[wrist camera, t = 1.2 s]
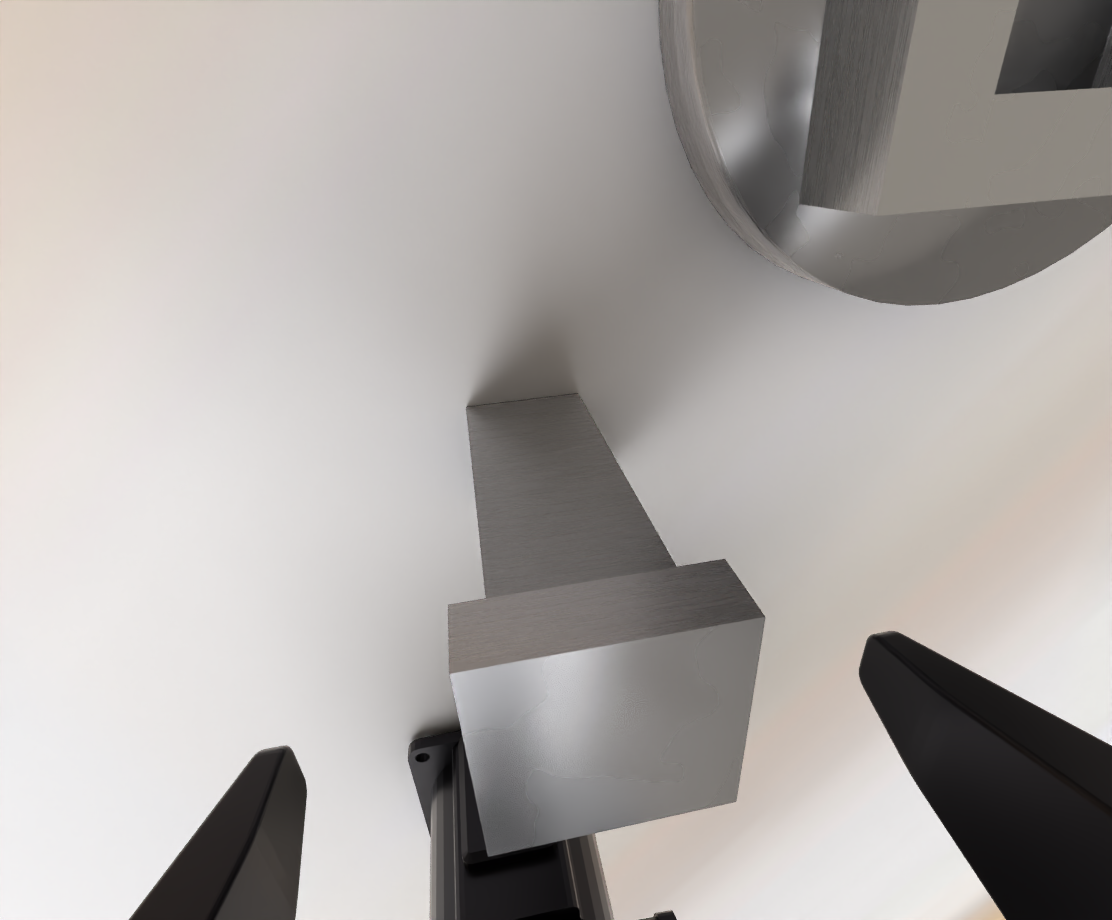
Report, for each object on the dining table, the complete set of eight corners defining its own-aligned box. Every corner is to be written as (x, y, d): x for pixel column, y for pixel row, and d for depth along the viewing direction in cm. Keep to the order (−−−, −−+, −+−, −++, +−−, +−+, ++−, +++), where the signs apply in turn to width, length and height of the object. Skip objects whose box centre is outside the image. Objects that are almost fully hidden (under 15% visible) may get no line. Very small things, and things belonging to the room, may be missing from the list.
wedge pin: (599, 500, 17) (735, 801, 9) (465, 519, 17) (488, 857, 9) (595, 373, 15) (765, 617, 7) (443, 391, 15) (448, 674, 7)
